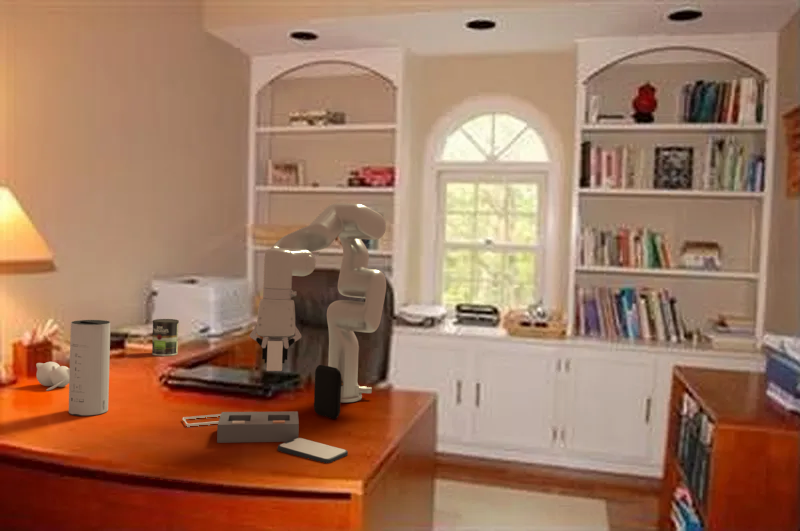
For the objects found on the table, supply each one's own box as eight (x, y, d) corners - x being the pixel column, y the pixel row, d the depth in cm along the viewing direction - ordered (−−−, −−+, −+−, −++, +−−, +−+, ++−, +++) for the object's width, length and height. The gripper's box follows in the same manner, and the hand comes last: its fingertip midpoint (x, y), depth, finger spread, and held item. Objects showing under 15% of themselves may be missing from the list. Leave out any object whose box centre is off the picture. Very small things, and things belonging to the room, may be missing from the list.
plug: (282, 368, 187) (283, 336, 187) (281, 370, 183) (282, 339, 183) (267, 367, 186) (268, 336, 186) (266, 370, 182) (267, 338, 182)
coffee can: (170, 357, 278) (171, 322, 277) (147, 355, 279) (147, 321, 279) (182, 352, 288) (183, 319, 287) (159, 351, 289) (160, 318, 289)
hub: (297, 427, 185) (297, 410, 184) (298, 441, 173) (298, 422, 173) (221, 428, 181) (221, 410, 181) (217, 442, 169) (217, 423, 169)
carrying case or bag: (344, 419, 194) (346, 368, 194) (337, 421, 192) (339, 370, 191) (318, 412, 201) (320, 363, 200) (311, 414, 199) (312, 364, 198)
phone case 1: (236, 417, 195) (181, 422, 188) (236, 412, 195) (182, 417, 188) (242, 423, 188) (186, 429, 181) (242, 419, 188) (187, 424, 181)
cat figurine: (71, 359, 219) (43, 354, 223) (47, 381, 211) (19, 376, 215) (82, 378, 224) (54, 373, 228) (59, 402, 216) (31, 396, 220)
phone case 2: (349, 456, 165) (298, 442, 173) (350, 450, 165) (298, 436, 173) (327, 467, 157) (274, 452, 165) (327, 460, 157) (275, 445, 165)
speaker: (117, 410, 195) (118, 320, 194) (86, 418, 186) (88, 323, 185) (90, 405, 200) (92, 316, 199) (59, 413, 190) (61, 320, 189)
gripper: (308, 294, 189) (305, 360, 189) (246, 292, 186) (244, 359, 187) (308, 297, 181) (305, 365, 182) (244, 295, 179) (241, 364, 180)
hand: (274, 361), depth 185 cm, fingers closed on plug, 4 cm apart
